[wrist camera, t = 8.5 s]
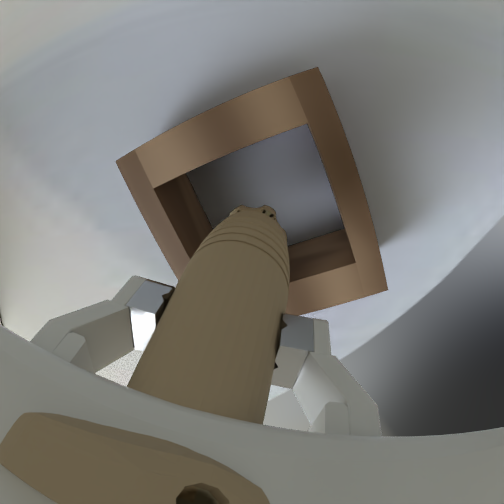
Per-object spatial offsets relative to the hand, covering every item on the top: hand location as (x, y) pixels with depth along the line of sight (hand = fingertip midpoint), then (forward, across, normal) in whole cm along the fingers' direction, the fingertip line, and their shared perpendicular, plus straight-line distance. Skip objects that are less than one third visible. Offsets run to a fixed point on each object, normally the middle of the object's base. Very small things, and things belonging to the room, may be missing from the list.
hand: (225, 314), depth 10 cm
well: (+12, 0, 0) cm, 12 cm away
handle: (+8, 0, 0) cm, 8 cm away
